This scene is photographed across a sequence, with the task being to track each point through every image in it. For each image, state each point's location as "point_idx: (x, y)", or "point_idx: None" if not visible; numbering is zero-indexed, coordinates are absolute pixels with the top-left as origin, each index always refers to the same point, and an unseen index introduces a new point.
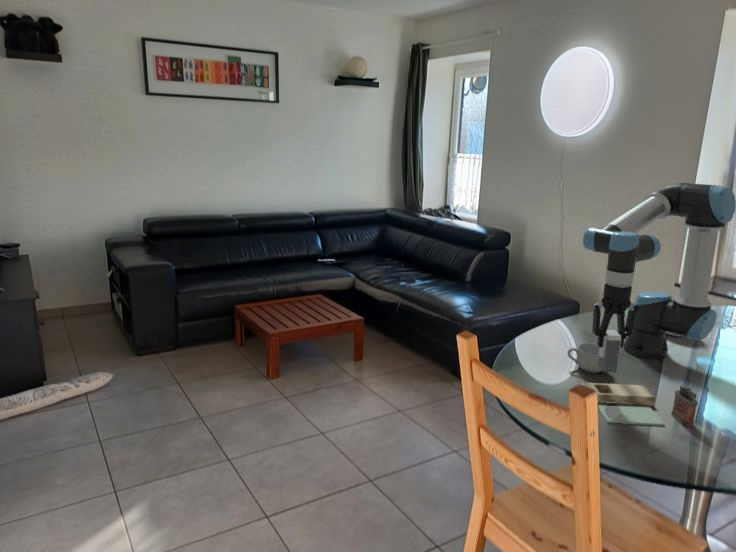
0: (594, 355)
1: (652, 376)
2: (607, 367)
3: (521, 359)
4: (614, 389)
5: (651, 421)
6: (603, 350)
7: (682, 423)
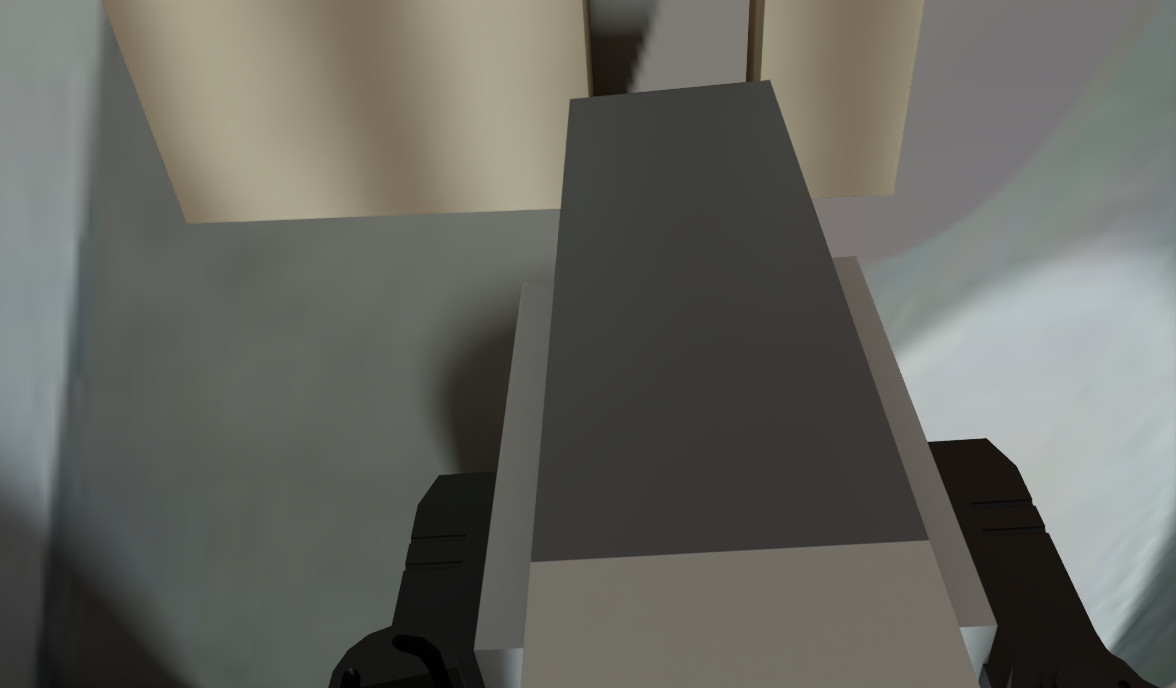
0: None
1: (112, 484)
2: (736, 122)
3: (1106, 615)
4: (540, 72)
5: None
6: (886, 365)
7: None
